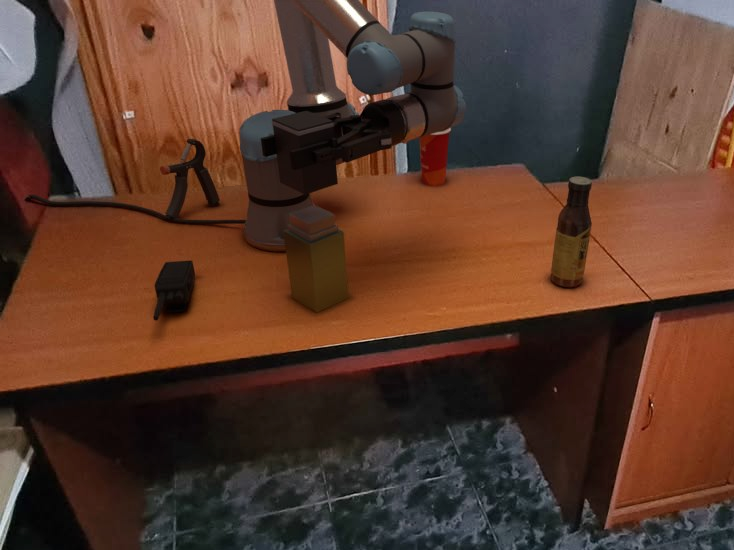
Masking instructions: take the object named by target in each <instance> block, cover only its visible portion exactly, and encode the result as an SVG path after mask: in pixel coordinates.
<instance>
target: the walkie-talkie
mask: <svg viewBox="0 0 734 550" xmlns="http://www.w3.org/2000/svg"><path fill="white" fill-rule="evenodd" d="M195 271H196V270H195V267H194V262H193V260H192V259H191V260H178V261H177V260H176V261H165V263H164V264H163V266H162V268H161V269H160V271H159V272H158V275H157V278H156V280H155V282H154V290H155V295H156V300H157V301H156V306H155V309H154V313H153V316H152V318H153V320H154V321H155V322H156V321H158V320H159V318H160V315H161V313H162V310H163V307H164V305H166V307H165V313H169V314H170V313H182V312H185V311H186V309H187V304H188V302H189V301H190V298H191V295H192V291H193V288H194V287H193V286H194V282H195V278H196V277H195V276H196V272H195Z"/></svg>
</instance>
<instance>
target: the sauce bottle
mask: <svg viewBox="0 0 734 550" xmlns="http://www.w3.org/2000/svg"><path fill="white" fill-rule="evenodd" d="M592 185H593V181H592V180H591V178H588V177H586V176H578V175H577V176H572V177H570V178H569V179H568V183H567V188H568V192H567V198H566V204H565V205H564V207H563V208H562V209H561V211H560V212H559V214H558V218H557V227H556V229H555V236H554V245H553V253H552V261H551V267H550V280H551V282H553V284H555V285H557V286H559V287H563V288H564V287H565V288H573V287H577V286H579V285H580V284H581V283H582V281H583V278H584V276H585V269H586V263H587V256H588V251H589V246H590V245H589V244H590V238H591V232H592V226H593V223H592V218H591V213H590V208H589V199H590V192H591V190H592Z"/></svg>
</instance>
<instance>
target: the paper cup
mask: <svg viewBox="0 0 734 550" xmlns="http://www.w3.org/2000/svg"><path fill="white" fill-rule="evenodd" d="M451 130H452V128H449V129H447V130H445V131H442V132H436V133H433V134H429V135H426V136H422V137H420V138H418V139H419V153H420V170H421V182H422V183H423V184H424V185H427V186H432V187H433V186H434V187H437V186H441V185H444V184H445V182H446V176H447V166H448V155H449V153H448V152H449V143H450V142H449V141H450V133H451Z"/></svg>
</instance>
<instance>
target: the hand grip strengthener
mask: <svg viewBox="0 0 734 550" xmlns="http://www.w3.org/2000/svg"><path fill="white" fill-rule="evenodd" d="M186 143H187V144H186V145H185V147H184V149H183V152H182V154H181V156H180V158H179V159H180V160H181V161H180V163H176V164H171V165H161V166H159V171H160V173H161V175H163V176H166V175H171V174H175V175H174V189H173V192H172V197H171V199H170V202H169V204H168V207H167V209H166V211H165V212H164V215H166V216H165V217H166V218H168V219H170V220H172V218H178V217H179V216H180V214H181V212H182V209H183V206H184V204H185V199H186V196H187V192H188V188H189V187H188V186H189V184H188V183H189V182H188V175H189V170H190V169H193V172H194V174H195V176H196V178H197V180H198V183H199V184H200V186H201V189H202V192H203V194H204V197H205V199H206V201H207V204H208V206H209V207H212V208H215V207H217V206H219V205H220V201H221V199H220V196H219V194H218V193H219V192H218V191H217V188H216V185H215V183H214V181H213V179H212V177H211V174H210V172H209V170H208V168H207V167H206V166H205V165H204V162H205V159H206V155H207V153H206V149H205V146H204V144H203V143H202V141H200V140H198V139H194V138H187V139H186ZM192 146H194V147H195V154H194V157H193V158H192V159H190V160H189V161H187V159H188V156H189V155H190V152H191V149H192Z"/></svg>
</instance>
